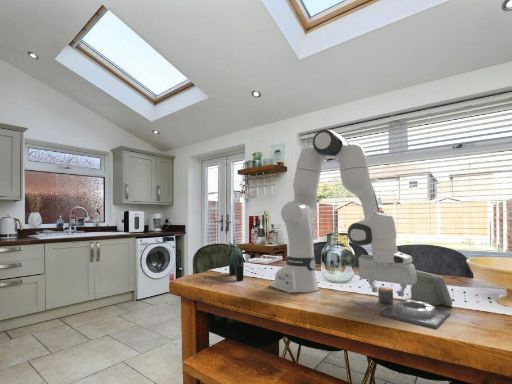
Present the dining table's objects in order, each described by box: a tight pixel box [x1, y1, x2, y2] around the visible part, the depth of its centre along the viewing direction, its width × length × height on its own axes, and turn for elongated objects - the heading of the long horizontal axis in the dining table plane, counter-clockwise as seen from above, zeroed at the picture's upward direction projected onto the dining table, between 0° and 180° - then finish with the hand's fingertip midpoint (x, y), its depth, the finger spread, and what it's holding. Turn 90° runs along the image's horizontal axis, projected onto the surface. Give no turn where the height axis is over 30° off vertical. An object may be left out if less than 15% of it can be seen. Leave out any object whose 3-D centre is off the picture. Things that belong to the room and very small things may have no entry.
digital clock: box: [410, 269, 453, 307], centre depth 110 cm, size 16×9×11 cm, turn 3°
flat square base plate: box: [379, 299, 451, 329], centre depth 96 cm, size 16×16×3 cm
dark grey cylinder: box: [377, 286, 394, 306], centre depth 109 cm, size 5×5×5 cm
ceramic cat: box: [226, 239, 245, 282], centre depth 157 cm, size 20×6×20 cm, turn 17°
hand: (387, 293), depth 109 cm, fingers open, 8 cm apart
